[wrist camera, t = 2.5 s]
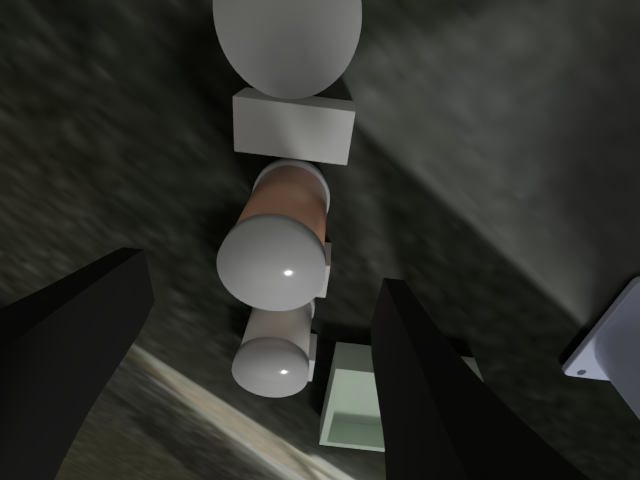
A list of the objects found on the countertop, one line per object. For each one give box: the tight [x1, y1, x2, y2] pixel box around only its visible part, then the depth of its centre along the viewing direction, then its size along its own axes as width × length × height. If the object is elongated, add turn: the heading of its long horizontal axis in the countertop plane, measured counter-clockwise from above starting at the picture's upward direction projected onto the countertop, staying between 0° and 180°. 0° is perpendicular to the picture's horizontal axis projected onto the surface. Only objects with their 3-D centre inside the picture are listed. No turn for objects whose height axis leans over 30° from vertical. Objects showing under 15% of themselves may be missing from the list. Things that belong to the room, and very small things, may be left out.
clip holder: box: [233, 87, 355, 381], centre depth 15 cm, size 4×23×2 cm, turn 174°
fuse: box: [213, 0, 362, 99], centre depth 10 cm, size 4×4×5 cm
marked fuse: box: [217, 158, 330, 311], centre depth 14 cm, size 4×4×6 cm
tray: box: [319, 342, 483, 452], centre depth 23 cm, size 9×9×2 cm
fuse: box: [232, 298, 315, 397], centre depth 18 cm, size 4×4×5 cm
